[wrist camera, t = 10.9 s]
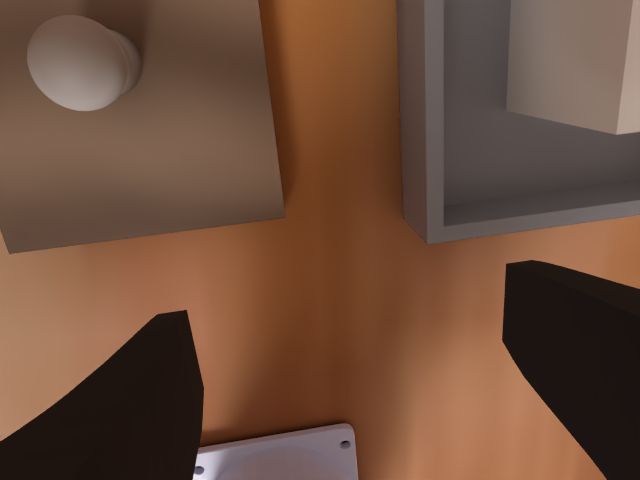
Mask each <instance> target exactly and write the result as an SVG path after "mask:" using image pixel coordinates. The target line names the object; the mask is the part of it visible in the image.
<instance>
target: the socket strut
mask: <svg viewBox="0 0 640 480" xmlns="http://www.w3.org/2000/svg"><path fill="white" fill-rule="evenodd" d="M506 111H510V112H514V113H519V114H523V115H528V116H533V117H537V118H542V119H546V120H551V121H555V122H560V123H565V124H569V125H574V126H578V127H583V128H588V129H592V130H597V131H601V132H606V133H611V134H615V135H618V134H626V133H634V132H640V0H511V9H510V32H509V56H508V80H507V103H506Z"/></svg>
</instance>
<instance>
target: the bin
mask: <svg viewBox="0 0 640 480" xmlns="http://www.w3.org/2000/svg"><path fill="white" fill-rule="evenodd" d="M396 3H397V35H398V66H399V97H400V128H401V159H402V191H403V219H404V220H405V221H406V222H407V223H408V224H409V225H410V226H411V227H412V228H413V229H414V231H415V232H416V233H417V234H418V235H419V236H420V237H421V238H422V239H423V240H424V241H425V242H426V243H427V244H435V243H442V242H449V241H456V240H464V239H471V238H478V237H485V236H492V235H500V234H507V233H514V232H521V231H528V230H536V229H543V228H550V227H557V226H564V225H572V224H579V223H586V222H593V221H600V220H608V219H615V218H622V217H629V216H636V215H640V132H634V133H626V134H618V135H615V134H611V133H606V132H601V131H597V130H592V129H588V128H583V127H578V126H574V125H569V124H565V123H560V122H555V121H551V120H546V119H542V118H537V117H533V116H528V115H523V114H519V113H514V112H510V111H506V103H507V80H508V56H509V32H510V9H511V0H396Z"/></svg>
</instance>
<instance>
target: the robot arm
mask: <svg viewBox="0 0 640 480" xmlns="http://www.w3.org/2000/svg"><path fill="white" fill-rule="evenodd" d="M502 341H503V343H504V345H505V346H506V348H507V350H508V351H509V353H510V355H511V357H512V358H513V360H514V362H515V363H516V365H517V366H518V368H519V370H520V371H521V373H522V374H523V376H524V377H525V378H526V380H527V381H528V382H529V384H530V385H531V386H532V387H533V389H534V390H535V391H536V392H537V393H538V395H539V396H540V397H541V398H542V400H543V401H544V402H545V403H546V405H547V406H548V407H549V408H550V409H551V411H552V412H553V413H554V414H555V415H556V417H557V418H558V419H559V420H560V421H561V423H562V424H563V425H564V426H565V427H566V429H567V430H568V431H569V432H570V433H571V435H572V436H573V437H574V438H575V440H576V441H577V442H578V443H579V444H580V446H581V447H582V448H583V449H584V450H585V452H586V453H587V454H588V455H589V456H590V458H591V459H592V460H593V462H594V463H595V464H596V466H597V467H598V468H599V470H600V471H601V472H602V473H603V475H604V476H605V478H606V479H607V480H640V289H637V288H634V287H630V286H627V285H623V284H620V283H616V282H613V281H610V280H606V279H603V278H599V277H596V276H593V275H589V274H586V273H583V272H579V271H576V270H572V269H569V268H565V267H562V266H558V265H554V264H550V263H546V262H541V261H534V260H529V261H522V262H515V263H509V264H506V278H505V298H504V317H503V336H502ZM203 398H204V386H203V382H202V377H201V373H200V368H199V364H198V359H197V355H196V350H195V346H194V341H193V337H192V332H191V327H190V323H189V318H188V314H187V310H183V311H177V312H170V313H163V314H158V315H156V316H155V317H154V318H152V319H151V320H150V321H149V322H148V323H147V324H146V325H145V326H143V327H142V328H141V329H140V330H139V331H138V332H137V333H136V334H135V335H134V336H133V337H132V338H131V339H130V340H129V341H127V342H126V343H125V344H124V345H123V346H122V347H121V348H120V349H119V350H118V351H117V352H116V353H114V354H113V355H112V356H111V357H110V358H109V359H108V360H107V361H106V362H105V363H104V364H102V365H101V366H100V367H99V368H98V369H97V370H95V371H94V372H93V373H92V374H91V375H89V376H88V377H87V378H86V379H85V380H83V381H82V382H81V383H80V384H79V385H77V386H76V387H75V388H74V389H73V390H72V391H70V392H69V393H68V394H67V395H65V396H64V397H63V398H62V399H60V400H59V401H58V402H56V403H55V404H54V405H52V406H51V407H50V408H48V409H47V410H46V411H44V412H43V413H42V414H40V415H39V416H37V417H36V418H34V419H33V420H32V421H30V422H29V423H27V424H26V425H24V426H23V427H22V428H20V429H19V430H17V431H16V432H14V433H13V434H11V435H10V436H8V437H7V438H5V439H4V440H2V441H0V480H358V469H357V457H356V446H355V434H354V431H353V428H352V426H351V425H350V424H347V423H342V424H336V425H330V426H324V427H318V428H312V429H307V430H301V431H295V432H289V433H283V434H277V435H271V436H265V437H259V438H253V439H248V440H242V441H236V442H230V443H224V444H218V445H212V446H206V447H200V448H199V443H200V437H201V432H202V419H203ZM342 441H347V442H346V443H341V442H342ZM196 466H201V467H202V468H197V467H196Z"/></svg>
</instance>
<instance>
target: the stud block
mask: <svg viewBox="0 0 640 480" xmlns="http://www.w3.org/2000/svg"><path fill="white" fill-rule="evenodd" d="M281 218H286V217H285V209H284V202H283V194H282V186H281V178H280V170H279V162H278V154H277V146H276V138H275V130H274V122H273V114H272V106H271V98H270V90H269V82H268V74H267V66H266V58H265V50H264V43H263V35H262V27H261V19H260V11H259V3H258V0H0V229H1V232H2V235H3V238H4V241H5V243H6V246H7V249H8V252H9V254H12V253H20V252H27V251H35V250H43V249H50V248H58V247H66V246H73V245H81V244H89V243H96V242H104V241H112V240H119V239H127V238H135V237H142V236H150V235H158V234H166V233H173V232H181V231H189V230H196V229H204V228H212V227H219V226H227V225H235V224H242V223H250V222H258V221H265V220H273V219H281Z"/></svg>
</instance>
